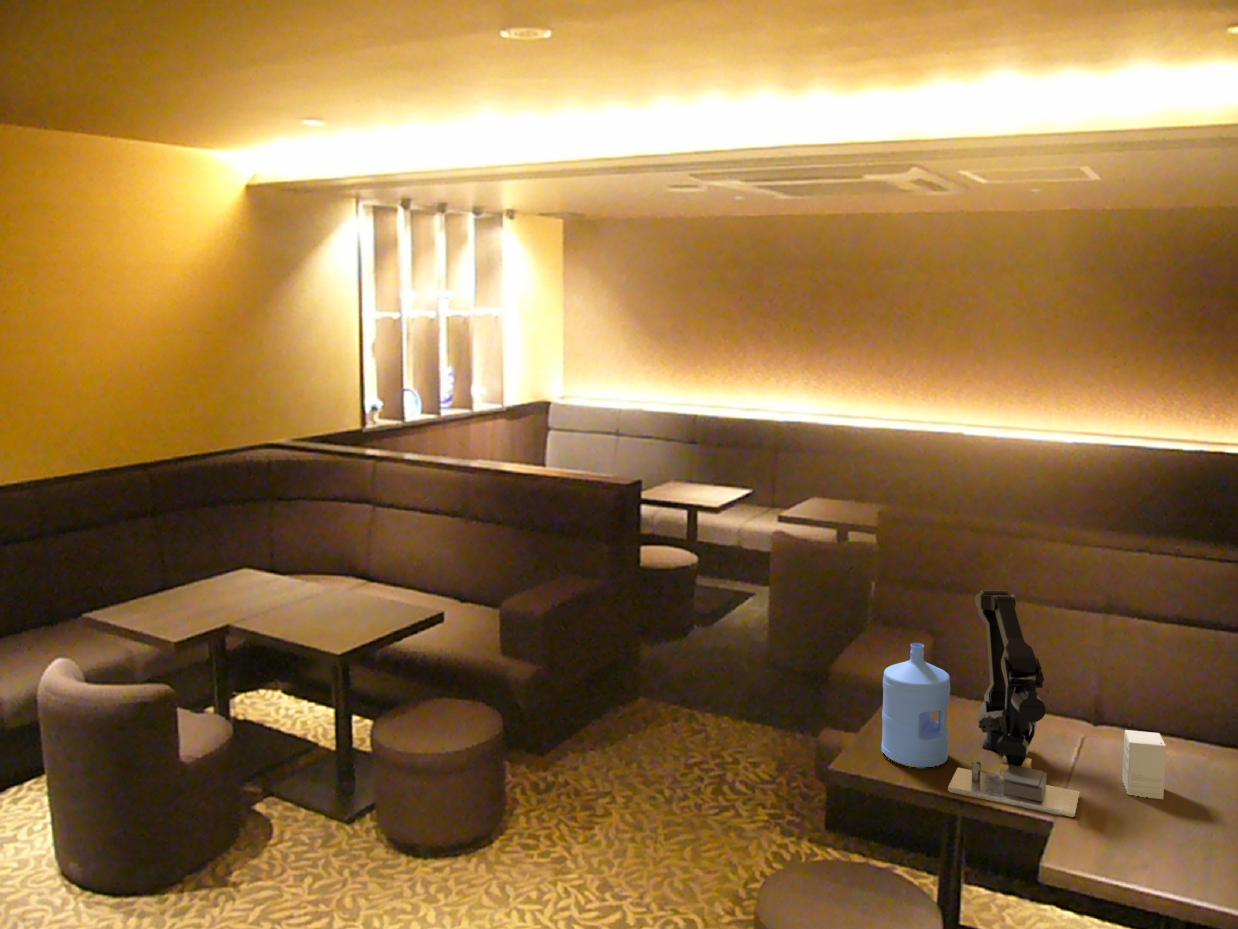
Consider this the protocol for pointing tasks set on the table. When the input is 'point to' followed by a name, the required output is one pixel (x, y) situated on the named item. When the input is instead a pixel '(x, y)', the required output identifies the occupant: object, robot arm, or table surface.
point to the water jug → (915, 711)
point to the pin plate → (993, 790)
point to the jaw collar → (1005, 766)
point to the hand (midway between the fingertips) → (1015, 769)
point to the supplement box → (1144, 764)
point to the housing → (1025, 782)
